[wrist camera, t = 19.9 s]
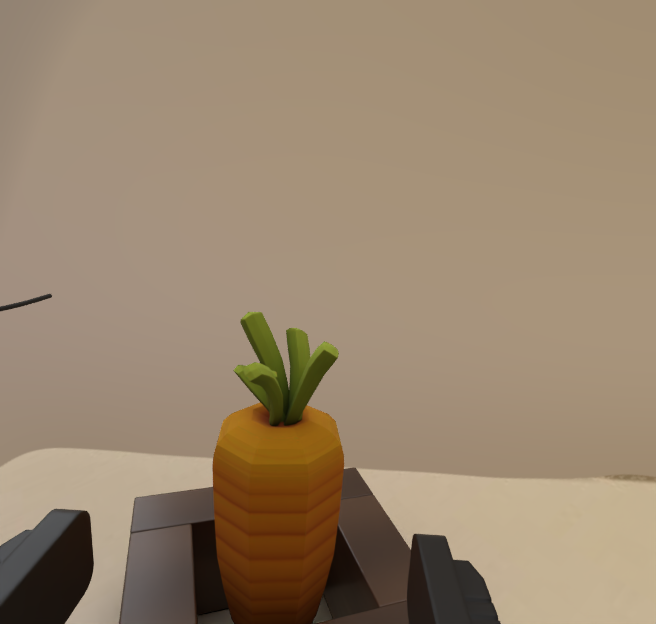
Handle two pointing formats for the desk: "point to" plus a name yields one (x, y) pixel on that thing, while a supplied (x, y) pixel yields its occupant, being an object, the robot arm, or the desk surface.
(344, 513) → the holder
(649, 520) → the desk surface
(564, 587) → the desk surface
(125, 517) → the desk surface
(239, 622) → the carrot
